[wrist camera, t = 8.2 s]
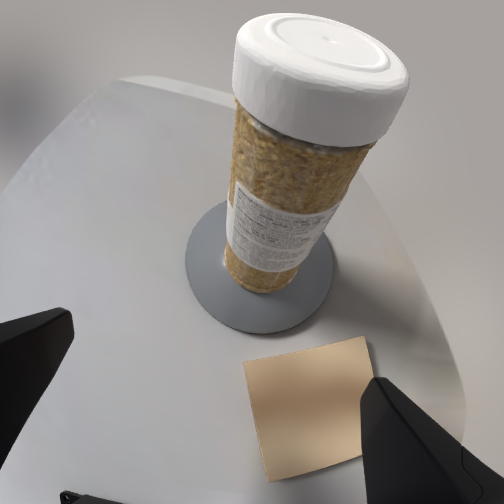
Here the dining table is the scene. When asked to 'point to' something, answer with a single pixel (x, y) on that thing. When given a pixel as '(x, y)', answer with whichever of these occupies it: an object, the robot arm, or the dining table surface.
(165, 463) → the dining table surface
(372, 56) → the sprinkles bottle
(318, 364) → the tan square cloth
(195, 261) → the coaster
